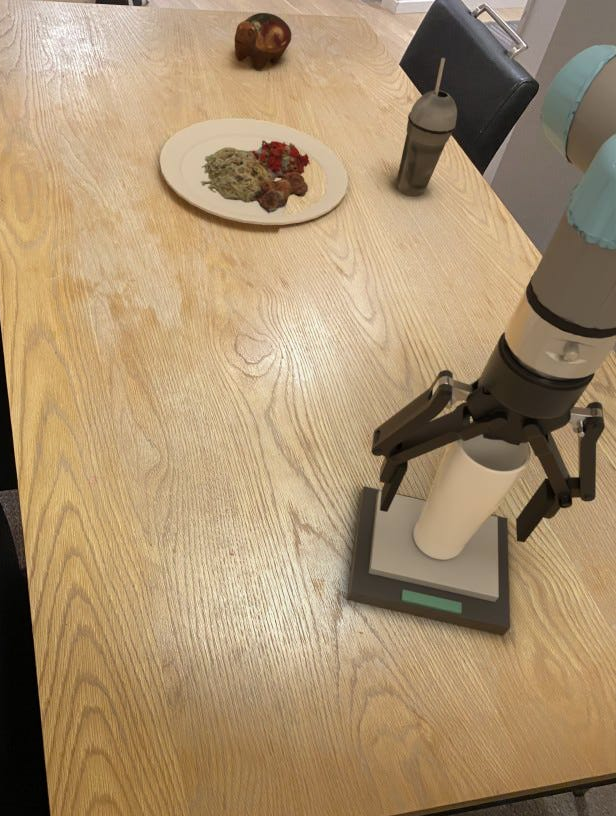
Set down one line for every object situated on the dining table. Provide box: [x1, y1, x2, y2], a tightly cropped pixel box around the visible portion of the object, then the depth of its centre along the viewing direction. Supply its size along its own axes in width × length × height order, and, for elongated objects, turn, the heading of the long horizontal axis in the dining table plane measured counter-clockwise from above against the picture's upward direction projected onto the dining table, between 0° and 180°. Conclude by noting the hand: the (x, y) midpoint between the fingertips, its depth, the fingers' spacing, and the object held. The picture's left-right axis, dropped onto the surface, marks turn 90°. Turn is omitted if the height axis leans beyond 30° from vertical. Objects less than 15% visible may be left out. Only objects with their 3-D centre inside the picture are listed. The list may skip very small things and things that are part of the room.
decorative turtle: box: [234, 12, 292, 71], centre depth 142 cm, size 10×15×8 cm, turn 143°
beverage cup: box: [395, 57, 458, 198], centre depth 115 cm, size 7×7×20 cm
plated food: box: [159, 117, 349, 226], centre depth 120 cm, size 30×30×3 cm
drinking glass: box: [413, 418, 532, 560], centre depth 73 cm, size 7×7×15 cm
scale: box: [346, 485, 511, 637], centre depth 80 cm, size 16×14×4 cm
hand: (451, 516), depth 75 cm, fingers open, 13 cm apart
